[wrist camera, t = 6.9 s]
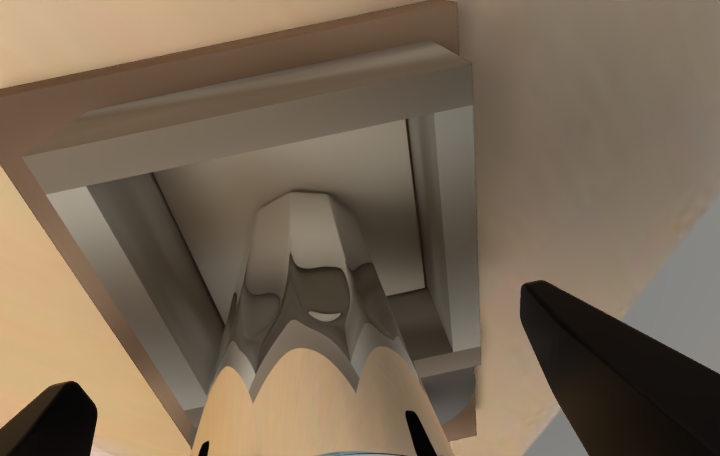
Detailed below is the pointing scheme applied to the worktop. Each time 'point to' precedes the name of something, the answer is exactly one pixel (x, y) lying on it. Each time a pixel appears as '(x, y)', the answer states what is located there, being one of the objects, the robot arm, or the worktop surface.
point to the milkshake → (313, 348)
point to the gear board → (262, 185)
